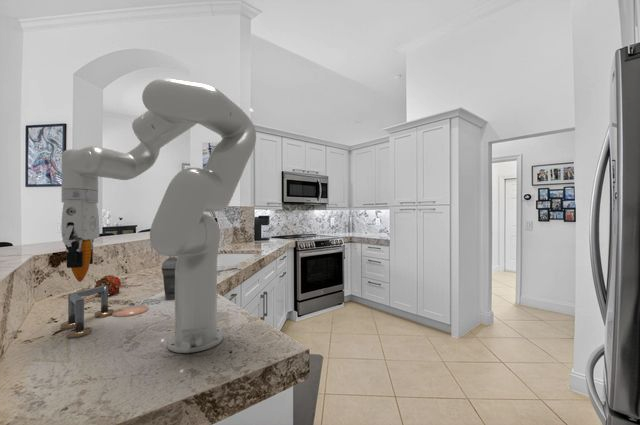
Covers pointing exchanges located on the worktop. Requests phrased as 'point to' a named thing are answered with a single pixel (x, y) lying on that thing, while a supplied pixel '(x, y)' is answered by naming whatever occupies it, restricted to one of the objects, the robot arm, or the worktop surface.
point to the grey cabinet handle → (78, 311)
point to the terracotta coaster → (130, 311)
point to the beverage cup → (169, 277)
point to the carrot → (82, 271)
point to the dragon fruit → (109, 283)
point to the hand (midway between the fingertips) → (80, 265)
